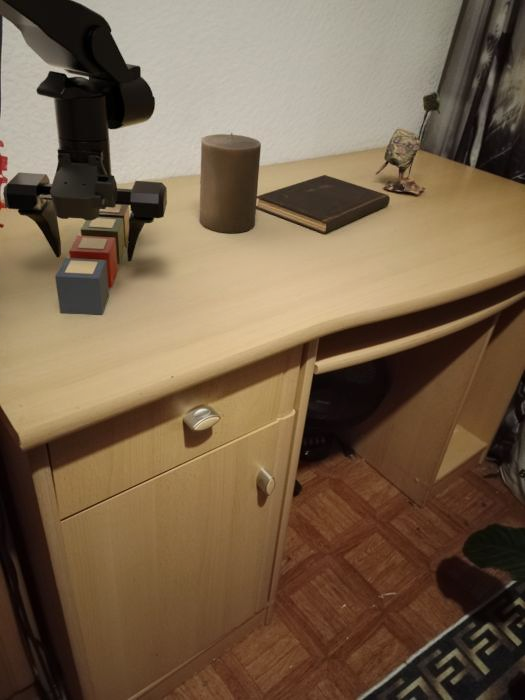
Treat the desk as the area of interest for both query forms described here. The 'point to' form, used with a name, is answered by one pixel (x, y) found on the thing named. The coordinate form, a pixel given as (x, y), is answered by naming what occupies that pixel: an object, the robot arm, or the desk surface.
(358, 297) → the desk surface
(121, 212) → the walnut block
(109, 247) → the red block
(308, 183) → the hardcover book
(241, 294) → the desk surface
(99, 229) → the olive block
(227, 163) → the pillar candle
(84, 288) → the slate block
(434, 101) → the mottled figurine
